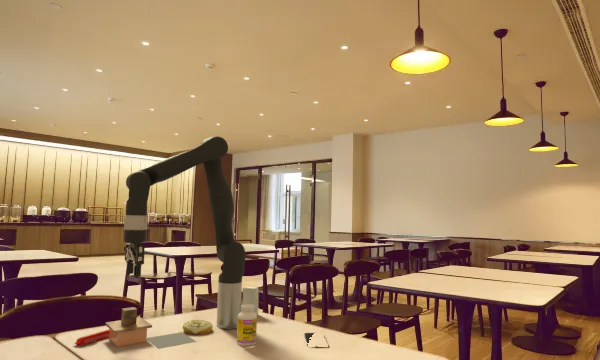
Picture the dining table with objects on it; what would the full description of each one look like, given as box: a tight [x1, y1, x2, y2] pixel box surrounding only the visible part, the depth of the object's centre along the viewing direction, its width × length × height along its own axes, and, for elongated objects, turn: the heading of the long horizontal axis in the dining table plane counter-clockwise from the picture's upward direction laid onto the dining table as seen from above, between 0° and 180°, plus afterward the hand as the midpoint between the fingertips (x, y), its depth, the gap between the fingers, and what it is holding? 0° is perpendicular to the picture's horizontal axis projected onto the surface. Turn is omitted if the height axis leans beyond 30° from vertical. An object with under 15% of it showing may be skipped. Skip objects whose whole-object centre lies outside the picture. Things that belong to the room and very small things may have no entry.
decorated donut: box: [182, 319, 214, 335], centre depth 149 cm, size 10×11×4 cm
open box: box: [108, 328, 148, 347], centre depth 136 cm, size 10×10×5 cm
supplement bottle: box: [236, 304, 258, 347], centre depth 137 cm, size 7×7×13 cm
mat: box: [146, 331, 197, 350], centre depth 137 cm, size 13×13×1 cm
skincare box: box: [242, 285, 259, 316], centre depth 175 cm, size 6×4×12 cm
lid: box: [105, 306, 153, 333], centre depth 137 cm, size 12×12×6 cm
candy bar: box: [74, 328, 110, 346], centre depth 137 cm, size 16×4×3 cm, turn 153°
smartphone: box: [303, 332, 315, 347], centre depth 141 cm, size 7×1×15 cm
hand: (133, 275), depth 138 cm, fingers open, 8 cm apart
